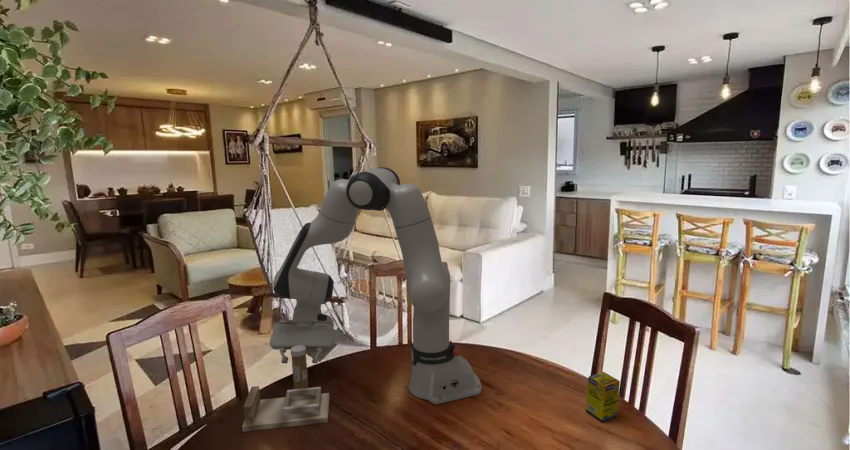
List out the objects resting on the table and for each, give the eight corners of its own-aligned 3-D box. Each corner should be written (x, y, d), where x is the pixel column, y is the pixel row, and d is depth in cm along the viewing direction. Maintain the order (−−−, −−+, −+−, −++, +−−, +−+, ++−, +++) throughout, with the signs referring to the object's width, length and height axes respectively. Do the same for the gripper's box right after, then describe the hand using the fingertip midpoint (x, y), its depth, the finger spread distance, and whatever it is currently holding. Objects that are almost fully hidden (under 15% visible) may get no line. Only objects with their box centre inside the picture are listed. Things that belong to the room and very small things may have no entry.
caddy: (329, 397, 131) (328, 377, 130) (327, 422, 120) (326, 400, 118) (252, 405, 128) (250, 384, 126) (242, 431, 116) (240, 409, 115)
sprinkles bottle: (310, 388, 136) (308, 348, 133) (296, 393, 133) (293, 352, 131) (305, 382, 140) (303, 342, 137) (291, 386, 137) (288, 346, 135)
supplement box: (602, 423, 118) (605, 386, 116) (585, 411, 123) (587, 375, 121) (617, 416, 121) (620, 380, 119) (600, 405, 126) (602, 370, 124)
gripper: (271, 316, 140) (262, 359, 133) (335, 316, 140) (330, 359, 133) (277, 324, 146) (269, 366, 138) (338, 323, 146) (333, 365, 138)
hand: (299, 362), depth 135 cm, fingers open, 8 cm apart
